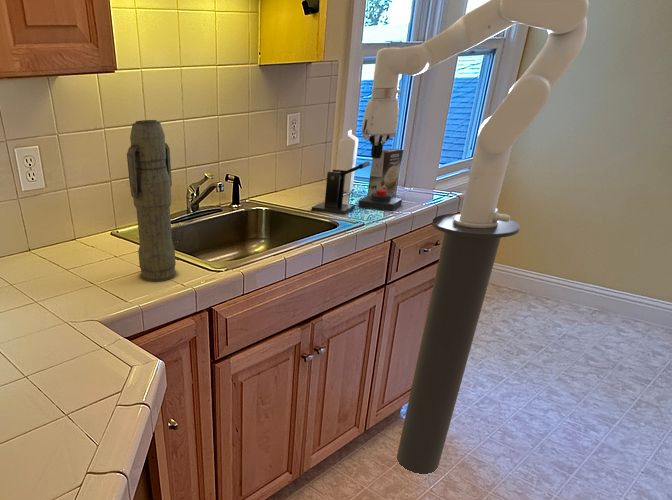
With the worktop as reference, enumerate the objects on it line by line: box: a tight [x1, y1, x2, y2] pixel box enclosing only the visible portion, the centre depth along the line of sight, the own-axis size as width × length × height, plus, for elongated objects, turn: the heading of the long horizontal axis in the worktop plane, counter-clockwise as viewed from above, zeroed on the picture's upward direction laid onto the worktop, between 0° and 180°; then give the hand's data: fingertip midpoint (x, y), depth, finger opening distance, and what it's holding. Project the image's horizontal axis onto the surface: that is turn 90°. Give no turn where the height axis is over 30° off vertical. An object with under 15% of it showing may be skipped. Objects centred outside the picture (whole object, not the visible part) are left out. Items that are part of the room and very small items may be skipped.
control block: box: [357, 193, 403, 212], centre depth 174 cm, size 12×9×4 cm
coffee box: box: [366, 148, 404, 197], centre depth 185 cm, size 9×6×16 cm
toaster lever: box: [339, 161, 371, 179], centre depth 165 cm, size 12×6×2 cm, turn 51°
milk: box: [335, 129, 360, 193], centre depth 193 cm, size 6×6×22 cm
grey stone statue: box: [126, 119, 177, 282], centre depth 116 cm, size 9×12×35 cm
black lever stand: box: [311, 168, 356, 215], centre depth 171 cm, size 12×9×13 cm
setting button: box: [376, 189, 387, 196], centre depth 173 cm, size 4×4×2 cm
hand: (375, 157), depth 164 cm, fingers closed
